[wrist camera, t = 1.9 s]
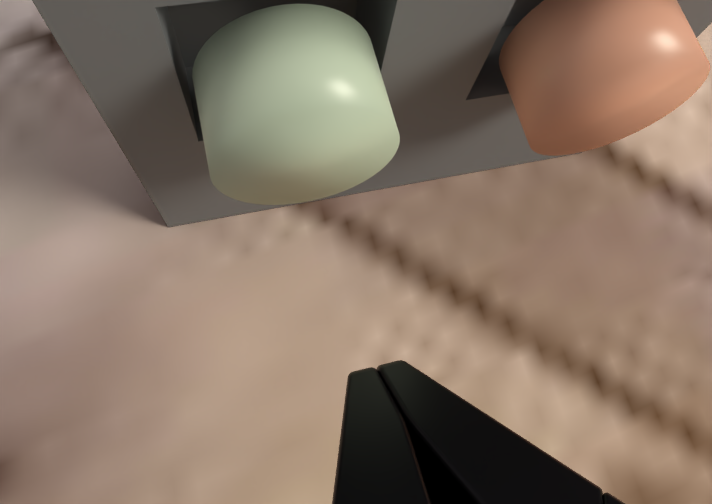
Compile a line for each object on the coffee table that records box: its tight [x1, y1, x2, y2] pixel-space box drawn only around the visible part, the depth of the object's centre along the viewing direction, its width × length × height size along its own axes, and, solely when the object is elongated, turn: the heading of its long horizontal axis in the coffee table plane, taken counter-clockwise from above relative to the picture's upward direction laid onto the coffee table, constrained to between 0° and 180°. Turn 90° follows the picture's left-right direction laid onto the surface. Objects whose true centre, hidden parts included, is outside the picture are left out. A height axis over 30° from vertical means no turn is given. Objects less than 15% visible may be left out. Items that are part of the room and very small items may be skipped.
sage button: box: [192, 4, 400, 205], centre depth 13 cm, size 2×4×4 cm, turn 104°
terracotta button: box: [499, 0, 710, 156], centre depth 14 cm, size 2×4×4 cm, turn 104°
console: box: [32, 0, 712, 227], centre depth 16 cm, size 4×17×12 cm, turn 104°
